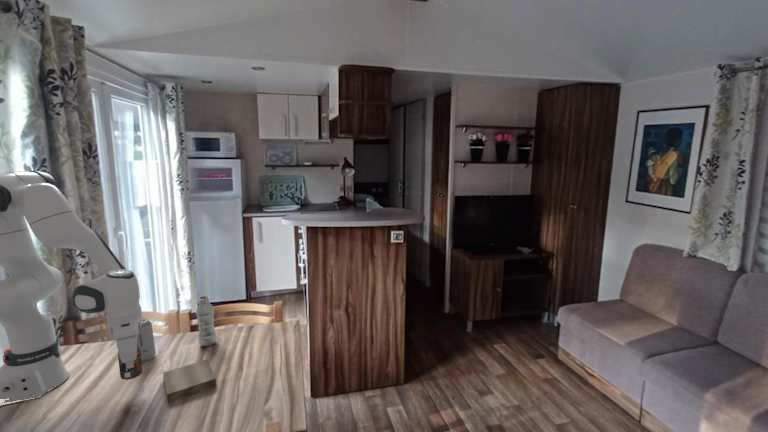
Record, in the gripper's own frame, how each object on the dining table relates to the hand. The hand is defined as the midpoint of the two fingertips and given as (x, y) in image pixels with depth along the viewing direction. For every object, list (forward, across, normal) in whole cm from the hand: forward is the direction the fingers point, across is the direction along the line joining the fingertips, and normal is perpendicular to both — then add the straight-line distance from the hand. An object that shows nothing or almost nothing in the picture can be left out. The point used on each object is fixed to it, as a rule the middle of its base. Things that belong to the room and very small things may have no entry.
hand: (130, 361), depth 118 cm
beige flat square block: (+11, +5, +16) cm, 20 cm away
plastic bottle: (+11, -19, +26) cm, 34 cm away
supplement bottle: (+5, 0, 0) cm, 5 cm away
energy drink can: (+12, -22, +5) cm, 26 cm away
